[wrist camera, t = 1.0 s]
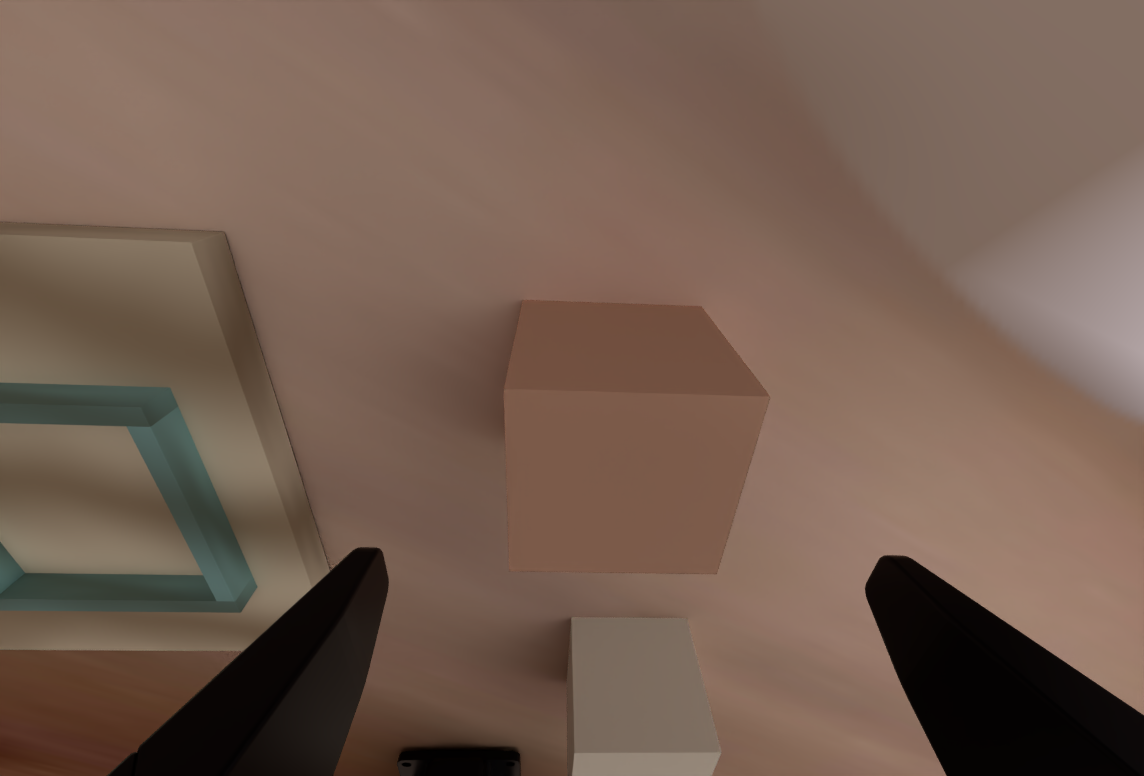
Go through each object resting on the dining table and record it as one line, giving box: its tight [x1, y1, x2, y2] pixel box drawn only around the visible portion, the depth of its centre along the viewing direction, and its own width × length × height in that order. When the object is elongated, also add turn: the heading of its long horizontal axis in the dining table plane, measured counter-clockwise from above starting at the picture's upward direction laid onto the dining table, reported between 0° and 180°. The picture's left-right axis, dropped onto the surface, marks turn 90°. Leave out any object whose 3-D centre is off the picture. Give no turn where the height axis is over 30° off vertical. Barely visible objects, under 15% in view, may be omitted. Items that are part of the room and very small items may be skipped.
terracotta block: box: [504, 300, 770, 574], centre depth 12 cm, size 5×5×5 cm
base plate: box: [0, 222, 330, 651], centre depth 14 cm, size 16×16×2 cm
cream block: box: [567, 617, 722, 776], centre depth 19 cm, size 5×5×5 cm
